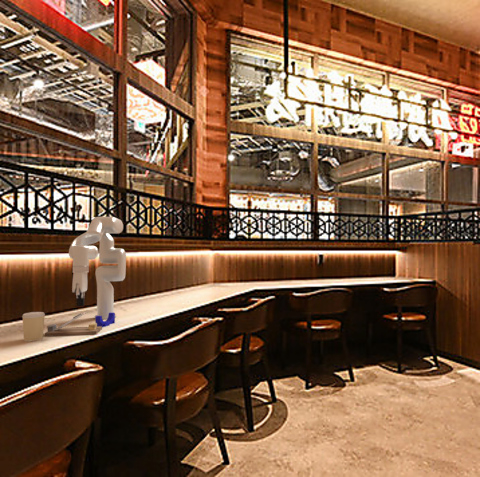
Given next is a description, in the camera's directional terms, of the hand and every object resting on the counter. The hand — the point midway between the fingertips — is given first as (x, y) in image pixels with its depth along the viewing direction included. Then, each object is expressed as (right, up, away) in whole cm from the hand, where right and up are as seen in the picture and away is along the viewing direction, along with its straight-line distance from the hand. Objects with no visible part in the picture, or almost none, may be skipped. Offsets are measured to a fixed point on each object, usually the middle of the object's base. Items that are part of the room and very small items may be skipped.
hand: (80, 306), depth 186 cm
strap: (-5, -8, 0) cm, 9 cm away
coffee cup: (-16, -13, -13) cm, 25 cm away
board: (-3, -13, 0) cm, 14 cm away
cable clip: (+7, -14, +17) cm, 23 cm away
